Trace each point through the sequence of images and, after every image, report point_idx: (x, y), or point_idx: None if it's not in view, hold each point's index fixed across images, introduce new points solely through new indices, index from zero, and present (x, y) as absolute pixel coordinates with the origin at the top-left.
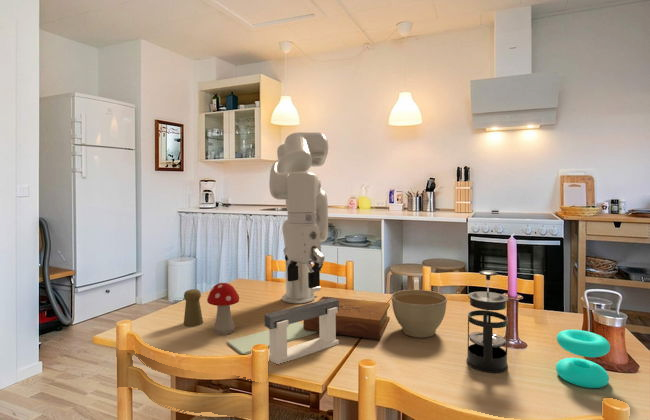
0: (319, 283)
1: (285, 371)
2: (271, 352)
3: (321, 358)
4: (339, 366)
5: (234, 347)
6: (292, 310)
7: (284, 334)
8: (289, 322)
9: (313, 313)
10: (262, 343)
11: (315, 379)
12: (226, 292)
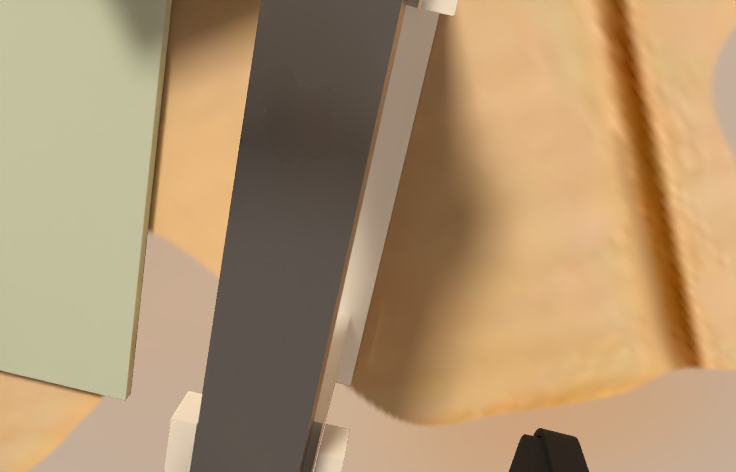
0: (581, 463)
1: (436, 393)
2: None
3: (499, 176)
4: (653, 193)
5: (23, 372)
6: (277, 396)
7: (328, 403)
8: (317, 402)
9: (366, 176)
10: (92, 262)
11: (617, 371)
12: None
